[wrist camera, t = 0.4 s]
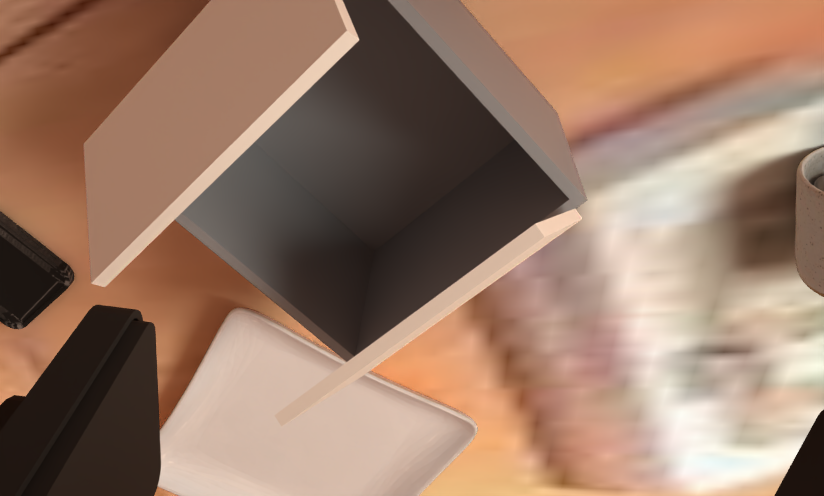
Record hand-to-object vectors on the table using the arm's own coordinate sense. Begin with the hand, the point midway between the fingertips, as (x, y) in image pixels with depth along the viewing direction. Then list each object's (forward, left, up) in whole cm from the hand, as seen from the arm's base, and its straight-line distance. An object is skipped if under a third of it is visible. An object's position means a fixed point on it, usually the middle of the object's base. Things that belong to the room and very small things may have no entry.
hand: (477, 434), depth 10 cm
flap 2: (+9, +8, -20) cm, 23 cm away
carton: (+9, +1, -36) cm, 37 cm away
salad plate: (+33, +18, -37) cm, 53 cm away
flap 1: (+9, -5, -20) cm, 22 cm away
